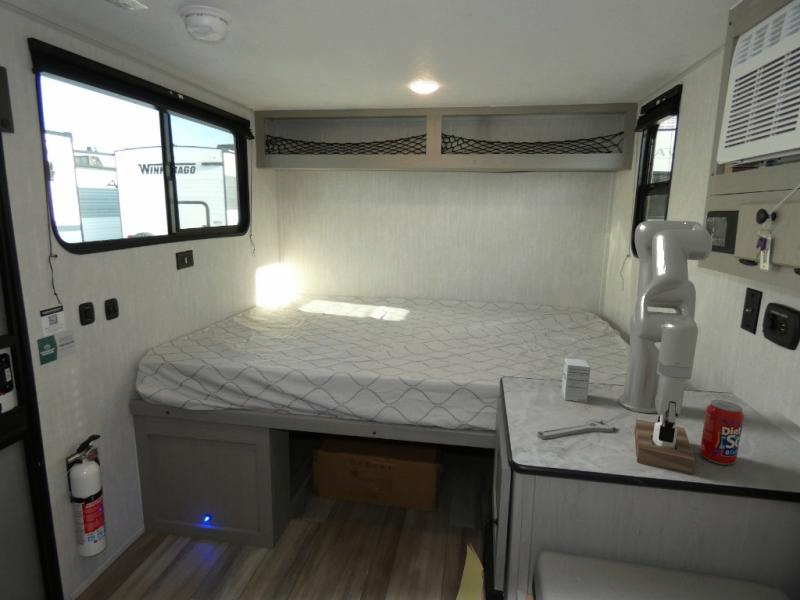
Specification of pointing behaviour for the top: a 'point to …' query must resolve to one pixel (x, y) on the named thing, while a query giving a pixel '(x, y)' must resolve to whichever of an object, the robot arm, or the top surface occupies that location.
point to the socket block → (663, 449)
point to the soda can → (722, 432)
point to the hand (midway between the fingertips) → (664, 435)
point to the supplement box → (575, 379)
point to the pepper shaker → (656, 435)
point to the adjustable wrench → (577, 429)
